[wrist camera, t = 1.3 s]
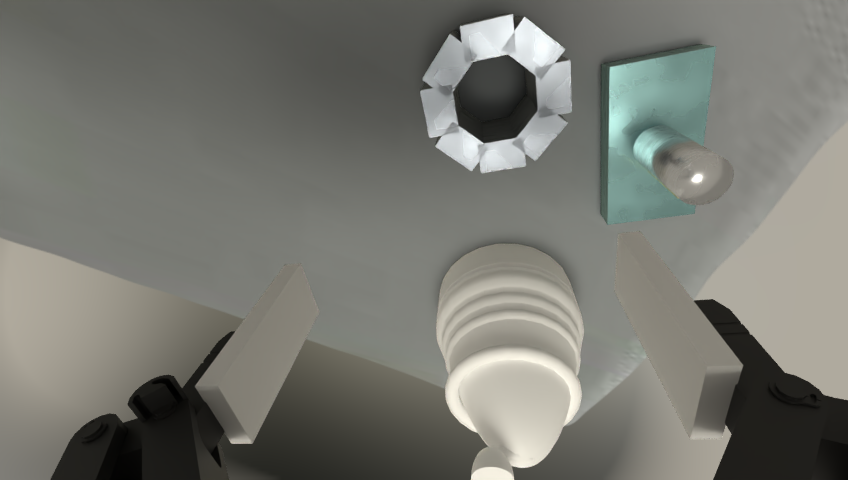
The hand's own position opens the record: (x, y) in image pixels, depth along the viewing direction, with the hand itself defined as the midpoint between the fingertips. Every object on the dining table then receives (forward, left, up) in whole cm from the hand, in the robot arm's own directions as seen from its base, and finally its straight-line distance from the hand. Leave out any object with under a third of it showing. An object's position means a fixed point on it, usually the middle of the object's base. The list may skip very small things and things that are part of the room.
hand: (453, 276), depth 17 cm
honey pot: (+16, +2, -18) cm, 24 cm away
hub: (-4, +3, -18) cm, 19 cm away
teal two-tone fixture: (+2, +14, -18) cm, 23 cm away
